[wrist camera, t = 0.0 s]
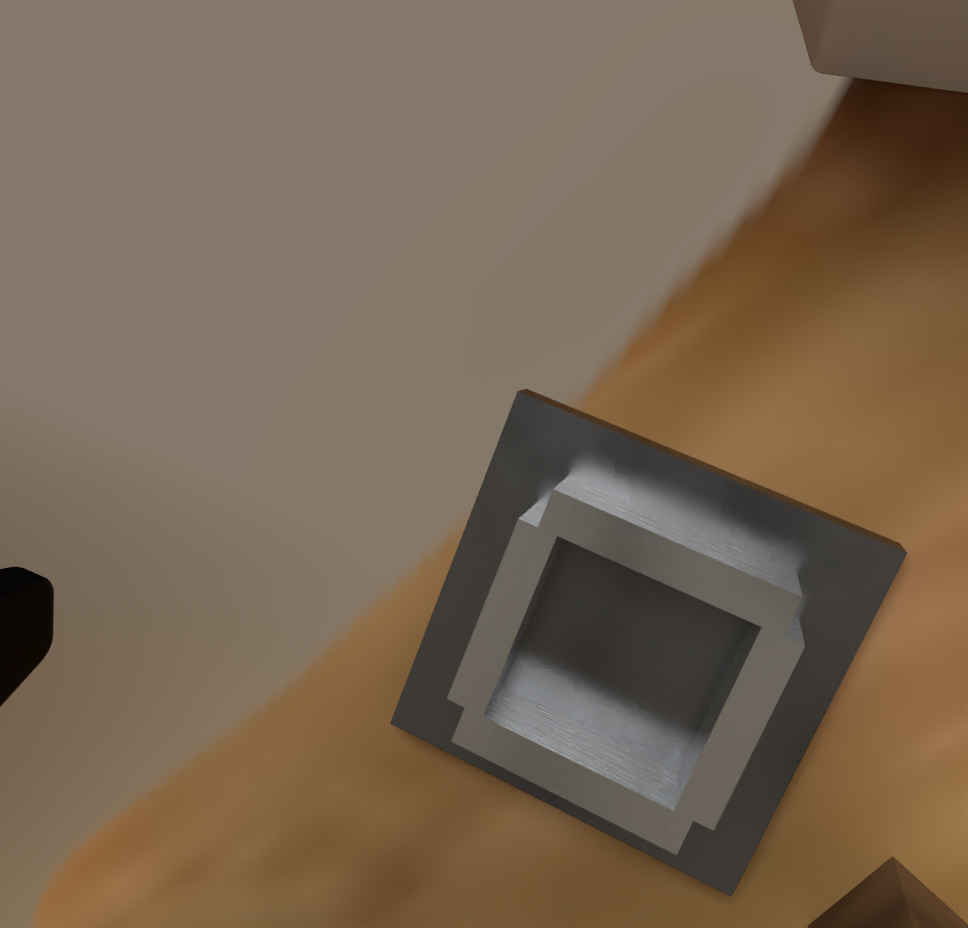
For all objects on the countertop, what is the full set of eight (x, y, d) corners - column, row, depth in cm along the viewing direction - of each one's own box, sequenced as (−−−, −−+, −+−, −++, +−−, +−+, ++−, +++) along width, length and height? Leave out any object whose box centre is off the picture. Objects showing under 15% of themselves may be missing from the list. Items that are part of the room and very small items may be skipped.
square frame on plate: (731, 874, 24) (731, 946, 22) (402, 709, 26) (361, 755, 24) (899, 543, 22) (924, 575, 19) (526, 389, 24) (498, 397, 21)
